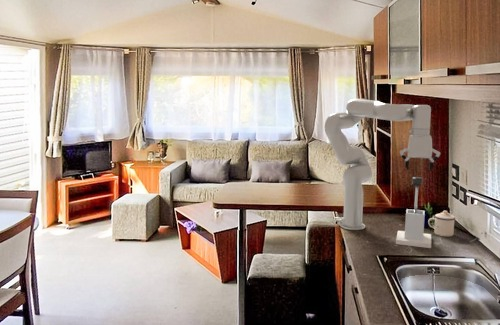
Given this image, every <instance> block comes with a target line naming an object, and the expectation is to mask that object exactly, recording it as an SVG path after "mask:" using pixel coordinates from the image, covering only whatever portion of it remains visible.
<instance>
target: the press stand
mask: <svg viewBox="0 0 500 325" xmlns="http://www.w3.org/2000/svg"><path fill="white" fill-rule="evenodd" d="M405 212H406V213H405V222H404V224H405V226H404V230H397V234H396V238H395V244H396V245H400V246H410V247H418V248H425V249H426V248H427V249H431V248H432V233H426V232H425V233H424V231H425V216H426V214H425V212H426V211H425V210H420V209H417V213H422V214H414V213H409V212H414V209H408V208H406V210H405Z"/></svg>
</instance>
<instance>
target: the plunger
mask: <svg viewBox="0 0 500 325" xmlns="http://www.w3.org/2000/svg"><path fill="white" fill-rule="evenodd" d="M411 178H412V180H411V185H413V186H415V190H414V191H415V192H414V205H413V206H414V207H413V208H414V209H413V210H414V212H409V213H414V214H422V213H417V210H418V199H419V198H418V196H419V186H422V185H423V181H424V180H423V177H421V176H420V177H419V176H412V177H411Z"/></svg>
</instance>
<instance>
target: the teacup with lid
mask: <svg viewBox="0 0 500 325" xmlns="http://www.w3.org/2000/svg"><path fill="white" fill-rule="evenodd" d="M427 220H428V221H427V223H428V226H429V227H430V228H432V229H434V232H433V233H434V234H435V235H437V236H441V237H447V238H448V237H452V236H454V234H455V233H454V231H455V230H454V229H455V221H456V216H454V215H453V214H451V213H449V212H448V210H443V211H442V212H440V213H436V214H435V215H434V217H430V218H429V219H427ZM432 220H434V226H433V225H432V224H431V221H432Z"/></svg>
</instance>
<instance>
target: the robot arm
mask: <svg viewBox="0 0 500 325" xmlns="http://www.w3.org/2000/svg"><path fill="white" fill-rule="evenodd" d="M431 112H432V107H431V106H430V105H428V104H416V105H415V104H407V103H405V104H403V103H401V104H400V103H399V104H398V103H397V104H394V103H385V102H381V101H380V100H374V99H373V100H372V99H367V98H352V99H350V100H349V101H347V104H346V111H345V112H344V111H343V112H335V113H331V114H329V116H328V117H327V118H326V119H325V122H324V132H325V135H326V137H327V139H328V141H329V144H330V146H331V147H332V150H333V152H334V154H335V156H336V159H337V161H338V163H339V164H340V165H342V166H349V167H347V168H346V169H345V170H344V171H343V175H342V181H343V188H344V189H343V190H344V192H343V194H344V195H343V217H342V216H341V217H338V216H335V217H334V221H335V222H337V223H339V226H340V227H341V228H342V229H345V230H350V231H361V230H364V229H365V228H366V225H365V224H364V223H363V212H364V211H363V208H364V189H363V184H364V183H367V182H369V181H370V180H371V179H372V177H373V170H372V168H371V165H370V163H369V161H368V159H367V157H366V155H365V152H364V151H363V150H362V148H361V147H360V146H357V145H351V144H350V142H349V141H348V138H347V136H346V135H345V134H344V132H343V131H342V130H344V129H350V128H353V127H354V126H356V125H357V124H358V123H359V122H361V121H362V120H363V119H364V118H369V119H376V120H377V119H378V120H382V121H384V120H385V121H390V122H407V121H412V123H411V129H408V133H409V134H411V135H409V138H408V144H407V145H408V146H407V147H406V148H404V149H401V150H399V154H400V156H401V158H402V159H403V161H405V164H404V165H405V169H406V170H407V171H409V169H410V168H409V167H410V159H411V158H413V159H428V160H429V172H432V170H433V169H434V162H436V161H437V160H438V158H439V157H440V156H441V154H442V153H441V152H440V151H438V150H436V149H434V148H433V138H432V136H431V135H430V133H431V132H430V130H431V115H432V113H431ZM404 153H407V156H406V155H405V154H404ZM433 153H434V154H435V156H434V157H432V156H433Z"/></svg>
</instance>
